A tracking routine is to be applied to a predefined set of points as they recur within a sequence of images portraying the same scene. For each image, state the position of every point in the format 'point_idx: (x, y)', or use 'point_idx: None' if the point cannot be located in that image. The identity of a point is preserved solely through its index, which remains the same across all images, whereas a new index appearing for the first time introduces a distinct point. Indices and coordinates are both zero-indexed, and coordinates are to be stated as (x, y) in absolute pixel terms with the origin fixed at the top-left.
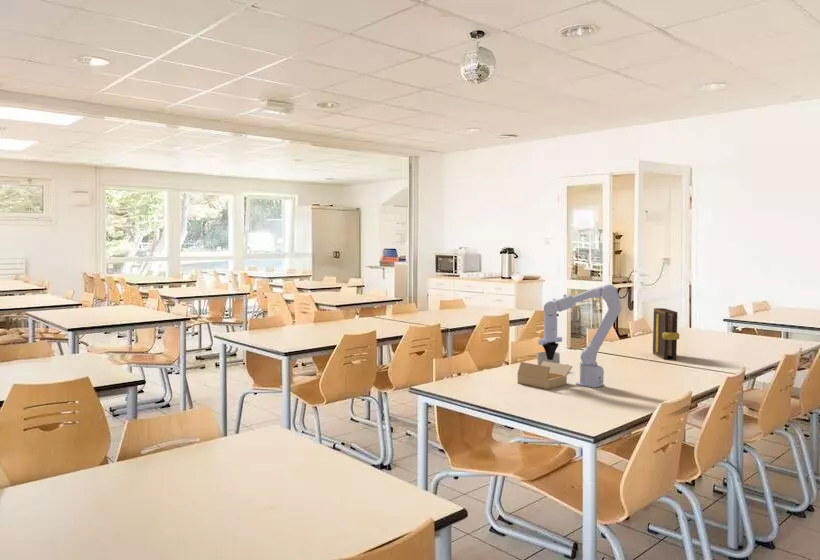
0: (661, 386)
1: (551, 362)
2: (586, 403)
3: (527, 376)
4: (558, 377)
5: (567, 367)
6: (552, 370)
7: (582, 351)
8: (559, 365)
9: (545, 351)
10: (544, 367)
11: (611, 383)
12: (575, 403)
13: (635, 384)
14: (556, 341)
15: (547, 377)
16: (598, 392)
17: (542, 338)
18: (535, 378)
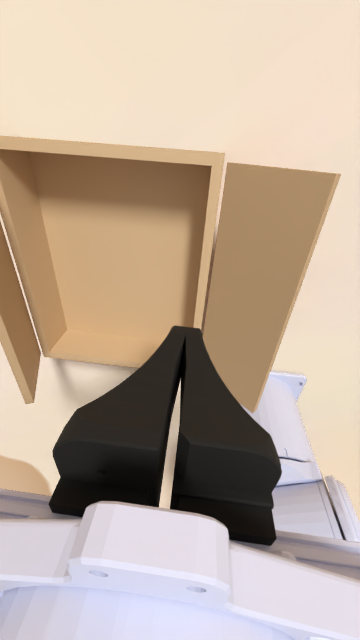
0: (357, 508)
1: (299, 276)
2: (46, 448)
3: (8, 234)
4: (128, 365)
5: (242, 388)
6: (223, 295)
7: (345, 536)
8: (260, 343)
9: (142, 366)
10: (17, 373)
11: (328, 434)
12: (21, 435)
13: (351, 474)
14: (315, 561)
15: (39, 361)
16: (171, 439)
17: (70, 552)
18: (27, 290)
